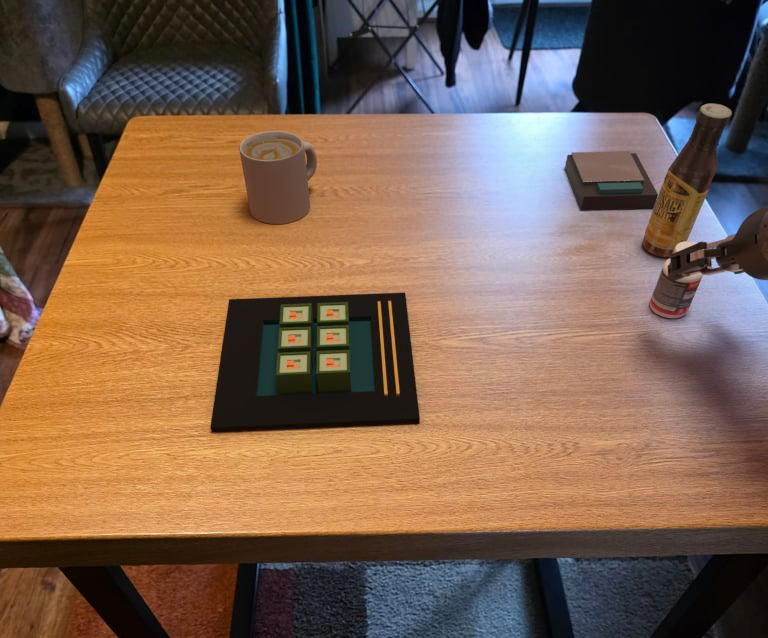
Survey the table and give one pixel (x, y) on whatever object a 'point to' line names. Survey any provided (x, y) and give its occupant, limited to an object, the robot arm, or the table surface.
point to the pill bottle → (674, 290)
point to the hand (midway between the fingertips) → (703, 268)
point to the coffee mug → (277, 175)
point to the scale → (609, 181)
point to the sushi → (315, 363)
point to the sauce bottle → (686, 183)
